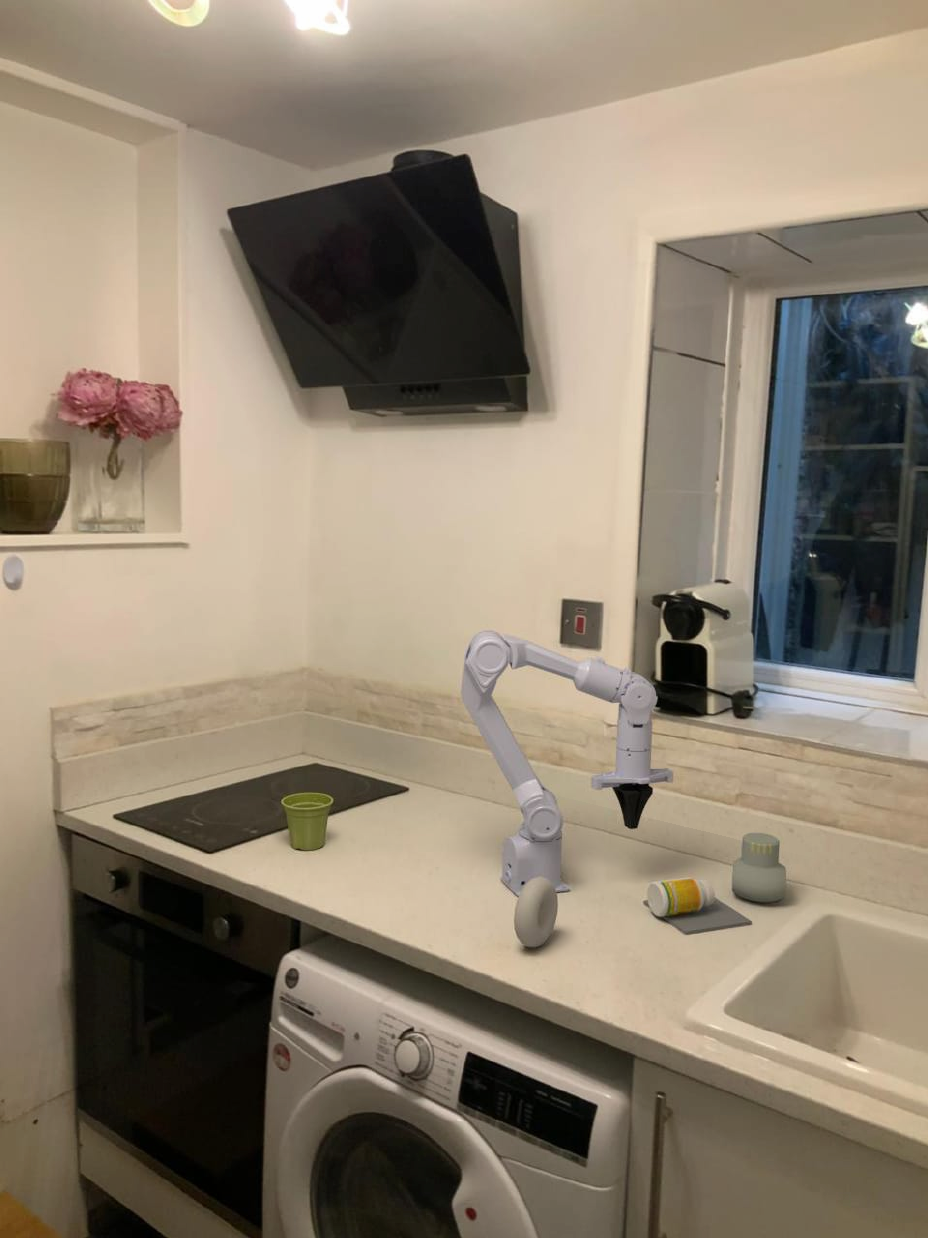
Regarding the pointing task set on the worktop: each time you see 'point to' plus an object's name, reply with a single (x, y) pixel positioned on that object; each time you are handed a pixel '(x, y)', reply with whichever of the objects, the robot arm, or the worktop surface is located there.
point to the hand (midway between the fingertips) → (630, 827)
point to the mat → (707, 918)
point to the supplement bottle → (679, 896)
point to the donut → (535, 912)
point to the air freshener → (759, 869)
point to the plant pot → (307, 819)
